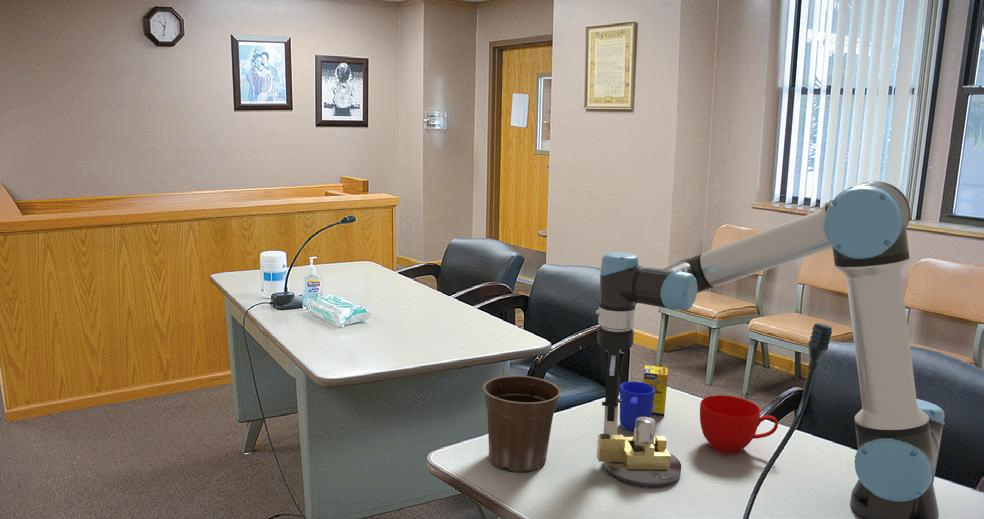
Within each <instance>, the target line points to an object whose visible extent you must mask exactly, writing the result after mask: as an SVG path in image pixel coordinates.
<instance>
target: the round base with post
mask: <svg viewBox="0 0 984 519" xmlns="http://www.w3.org/2000/svg"><path fill="white" fill-rule="evenodd" d="M655 432H656V420H655V419H654V418H652V417H650V418H649V417H638V418H637V419H636V426H635V438H634V450H633V451H634V452H642V449H643V444H653V445H654V437H655ZM669 454H670V455H671V461H670V470H656V469H626V467H625V465H624V464H623V462H603V466H602V467H603V470H604V471H605V473H606V474H607V475H608V476H609V477H611V478H612V479H614V480H615V481H618V482H620V483H622V484H625V485H627V486H628V485H629V486H631V487H634V488H635V487H636V488H641V489H642V488H644V489H660V488H666V487H667V488H668V487H670V486H672V485H674V484H676V483H678V481H679V480H680V479H681V473H682V463H681V461H680V460H679V459H678V457H677V456H675V455H674V454H672V453H671V452H669Z"/></svg>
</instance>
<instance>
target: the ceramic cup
mask: <svg viewBox="0 0 984 519" xmlns="http://www.w3.org/2000/svg"><path fill="white" fill-rule="evenodd" d="M765 420H771V421H773V423H774V426H773V427H772V428H771V430H769V431H766V432H763V433H762V432H761V433H756V432H757V429H758V427H759V426H760V424H761V423H762V422H764V421H765ZM699 422H700V428H701V431H702V434H703V437H704V438H705V440H706V441H707V442H708V444H709V445H710V448H712V449H713V450H715V451H717V452H720V453H722V454H731V455H732V454H738V453H740V452H741V451H742V450H744V449H745V448H746V447H748V445H750V443H751V442H752V440H754V439H762V438H766V437H769V436H771V435H773V434H774V433H775V432H776V431H777V429H778V428H779V422H778V420H777V418H776V417H774V416H773V415H762V416H761V408H760V407H759V406H758V405H757V404H756V403H754V402H752V401H749V400H747V399H744V398H741V397H737V396H731V395H722V394H721V395H719V394H718V395H709V396H706V397H704V398H702V399H701V401H700V403H699Z"/></svg>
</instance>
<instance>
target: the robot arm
mask: <svg viewBox="0 0 984 519" xmlns="http://www.w3.org/2000/svg"><path fill="white" fill-rule="evenodd" d="M910 218H911V206H910V203H909V199H908V198H907V197H906V195H905V194H904V193H903V192H902V191H901V190H900V189H899V188H898V187H896V186H895V185H893V184H891V183H887V182H884V181H867V182H866V181H865V182H863V183H861V184H857V185H855V186H850V187H848V188H846V189H844V190H842V191H841V192H840V193H838V194H837V195H836V196H835V197H834V198H833V199H832V200H829V201H827V202H825V203H823V204H822V207H821V208H820V210H818V211H814V212H811V213H809V214H806V215H804V216H801V217H798V218H796V219H791V220H790V221H788V222H784V223H782V224H779V225H777V226H773V227H772V228H767V229H766V230H763V231H760V232H757V233H755V234H752V235H748V236H746V237H744V238H741V239H738V240H736V241H732V242H730V243H728V244H725V245H722V246H719V247H716V248H713V249H711V250H709V251H708V250H707V251H706V252H703V253H701V254H698V255H695V256H691V257H687V258H684V259H682V260H680V261H678V262H676V263H674V264H671V265H669V266H666V267H664V268H656V267H655V268H654V267H647V266H646V267H645V266H642V265H639V264H640V262H639V258H638V256H637V255H635V254H633V253H630V252H629V253H628V252H609V253H606V254H604V255H603V256H602V259H601V265H600V273H599V301H598V303H599V304H598V309H597V310H595V314H596V315H598V322H597V323H598V325H599V326H598V327H597V335H596V336H597V337H596V338H597V339H596V342H597V344H598V346H599V347H602V348H606V349H608V350H605V353H604V355H603V356H604V357H603V358H604V359H603V361H604V362H603V363H604V364H605V365H604V375H605V396H604V397H605V398H604V401H602V402H601V406H603V407H604V418H603V419H604V420H603V434H609V435H618V434H617V433H618V419H619V418H618V416H619V404H620V403H621V402H622V399H620V384H621V383H620V380H621V376H622V373H623V372H622V371H623V364H624V360H625V352H623V351H622V350H627V349H631V347H632V346H633V345H634V335H635V330H634V329H633V328H634V327H635V325H636V310H637V308H636V304H642V305H648V306H653V307H660V308H664V309H668V310H673V311H674V310H676V311H677V310H679V311H688V310H690V309H691V308H692V307H693V305H694V303H695V301H696V299H697V294H699V293H701V292H705V291H708V290H710V289H713V288H715V287H720V286H722V285H725V284H729V283H731V282H734V281H737V280H740V279H743V278H746V277H749V276H753V275H756V274H758V273H762V272H765V271H767V270H770V269H773V268H777V267H779V266H782V265H785V264H789V263H793V262H795V261H798V260H801V259H804V258H808V257H810V256H812V255H816V254H819V253H823V252H824V251H828V250H831V249H832V253H833V262H834V268H836V269H837V270H838V271H839V272H841V273H842V274H844V276H845V280H846V281H845V282H846V289H847V296H848V304H849V314H850V321H851V328H852V336H853V345H854V351H855V352H854V353H855V359H856V368H857V374H858V376H857V377H858V382H859V383H858V385H859V391H860V398H861V409H860V410H859V411H858V412H857V413H856V415H855V416H854V426H855V434H856V441H857V451H856V453H855V455H854V470H855V473H856V476H857V478H858V480H857V482H856V483H855V485H854V487H853V488H852V491H851V494H850V500H849V505H850V507H851V509H852V510H853V511H854V512H855V513H856V515H858V516H859V517H860V516H861V517H860V518H862V519H863V518H864V519H939V517H940V512H939V511H940V510H939V507H938V506H939V505H938V501H937V496H936V493H935V492H936V491H935V487H934V482H935V476H936V470H937V463H938V458H939V452H940V447H941V440H942V434H943V428H944V426H945V424H946V423H945V412H944V410H943V409H942V408H941V407H940V406H939V405H937V404H934V403H932V402H929V401H926V400H923V399H919V398H917V392H916V385H915V384H916V383H915V376H914V368H913V367H914V366H913V359H912V353H911V351H912V350H911V344H910V343H911V342H910V334H909V326H908V320H907V319H908V317H907V310H906V301H905V295H904V286H903V277H902V270H903V268H904V267H905V266H906V264H907V263H908V262H909V261H910V252H909V243H908V242H909V240H908V236H907V235H908V231H907V227H908V225H909V223H910V220H911V219H910Z"/></svg>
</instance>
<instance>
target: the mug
mask: <svg viewBox="0 0 984 519" xmlns="http://www.w3.org/2000/svg"><path fill="white" fill-rule="evenodd" d="M654 394H655V388H654V387H653V386H651V385H649V384H646V383H643V381H634V380H633V381H626V382H622V383H620V384H619V399H622V402H621V403H619V424H620V426H621V427H622V428H623V429H625V430H627V431H632V432H634V429H635V426H636V419H637V418H638V417H649V418H652V415H651V411H652V405H653V400H654Z"/></svg>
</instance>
